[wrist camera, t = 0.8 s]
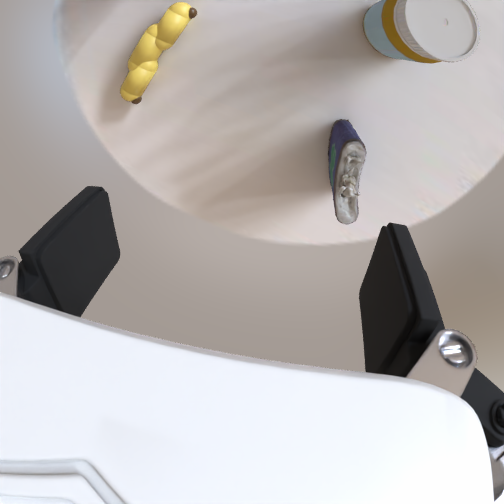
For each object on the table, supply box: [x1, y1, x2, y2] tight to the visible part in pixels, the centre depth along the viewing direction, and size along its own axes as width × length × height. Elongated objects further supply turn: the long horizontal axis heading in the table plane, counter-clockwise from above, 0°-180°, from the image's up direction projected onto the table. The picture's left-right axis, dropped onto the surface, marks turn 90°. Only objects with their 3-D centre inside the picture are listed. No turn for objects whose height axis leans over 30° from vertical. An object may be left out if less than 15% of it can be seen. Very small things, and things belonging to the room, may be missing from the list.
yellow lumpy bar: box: [120, 2, 197, 104], centre depth 30 cm, size 14×4×3 cm, turn 143°
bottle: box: [363, 0, 480, 63], centre depth 20 cm, size 7×7×15 cm
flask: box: [328, 119, 366, 225], centre depth 32 cm, size 9×3×11 cm, turn 2°
